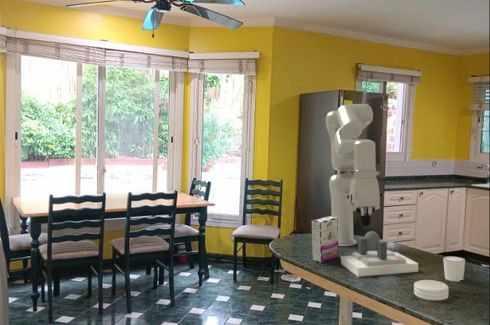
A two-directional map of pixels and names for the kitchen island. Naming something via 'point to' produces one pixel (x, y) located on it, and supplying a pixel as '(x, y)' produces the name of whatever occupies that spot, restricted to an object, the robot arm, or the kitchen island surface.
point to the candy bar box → (325, 239)
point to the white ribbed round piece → (431, 290)
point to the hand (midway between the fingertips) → (364, 225)
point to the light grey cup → (454, 268)
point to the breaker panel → (378, 268)
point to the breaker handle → (382, 249)
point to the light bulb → (372, 240)
